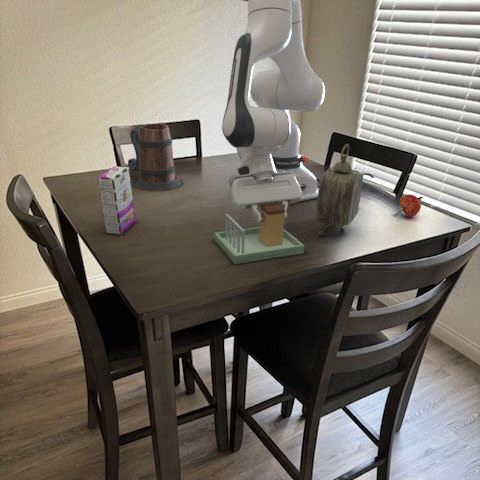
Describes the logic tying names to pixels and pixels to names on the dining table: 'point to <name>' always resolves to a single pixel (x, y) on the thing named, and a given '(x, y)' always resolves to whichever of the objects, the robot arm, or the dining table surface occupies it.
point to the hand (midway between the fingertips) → (272, 219)
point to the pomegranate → (410, 205)
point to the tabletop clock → (339, 194)
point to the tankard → (153, 158)
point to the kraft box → (272, 225)
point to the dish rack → (253, 244)
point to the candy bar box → (116, 199)
